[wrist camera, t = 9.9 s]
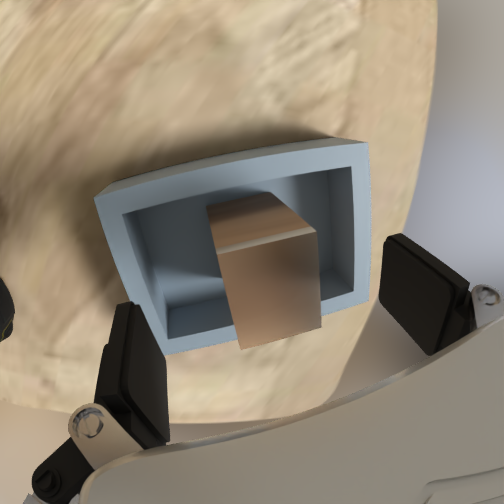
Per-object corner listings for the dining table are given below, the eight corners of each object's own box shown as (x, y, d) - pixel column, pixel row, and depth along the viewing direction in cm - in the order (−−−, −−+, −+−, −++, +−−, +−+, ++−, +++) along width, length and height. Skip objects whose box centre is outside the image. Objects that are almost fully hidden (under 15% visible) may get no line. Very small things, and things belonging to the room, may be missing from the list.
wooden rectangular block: (205, 206, 17) (216, 254, 11) (270, 192, 18) (316, 231, 12) (222, 278, 20) (240, 349, 13) (280, 263, 20) (321, 327, 14)
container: (112, 182, 16) (93, 197, 13) (335, 137, 18) (368, 142, 14) (159, 319, 21) (156, 356, 17) (342, 273, 22) (368, 300, 19)
